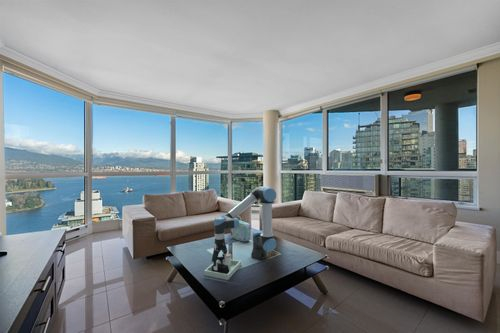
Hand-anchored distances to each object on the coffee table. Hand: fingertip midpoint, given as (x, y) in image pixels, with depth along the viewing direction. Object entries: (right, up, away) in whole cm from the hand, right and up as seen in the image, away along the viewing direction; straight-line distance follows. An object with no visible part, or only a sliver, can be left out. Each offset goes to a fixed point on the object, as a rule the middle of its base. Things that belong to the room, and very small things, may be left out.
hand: (220, 265), depth 161 cm
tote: (+2, -7, +5) cm, 9 cm away
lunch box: (+12, -7, +76) cm, 78 cm away
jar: (+5, -6, +12) cm, 14 cm away
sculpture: (0, -6, 0) cm, 6 cm away
